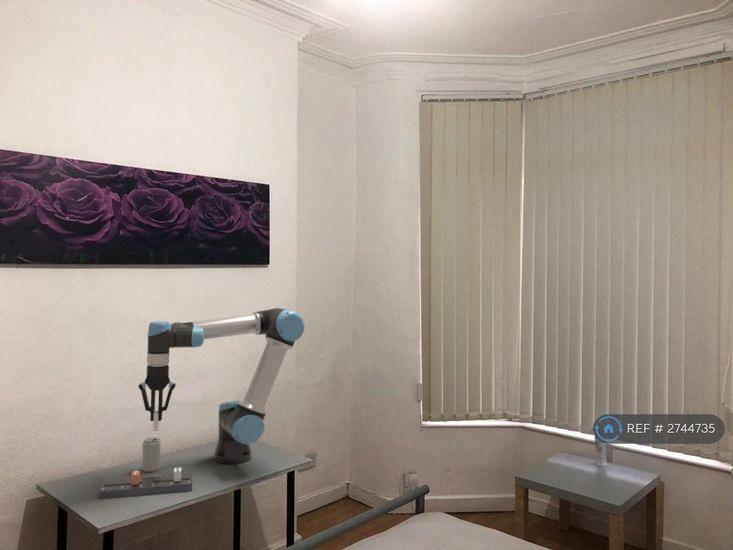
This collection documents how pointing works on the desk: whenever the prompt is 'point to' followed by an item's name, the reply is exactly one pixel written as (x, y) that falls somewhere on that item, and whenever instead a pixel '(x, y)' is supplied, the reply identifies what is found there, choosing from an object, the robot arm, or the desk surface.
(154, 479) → the dark grey slider panel
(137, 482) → the fader red
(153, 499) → the desk surface
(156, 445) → the beverage can
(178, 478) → the fader grey
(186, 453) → the desk surface
